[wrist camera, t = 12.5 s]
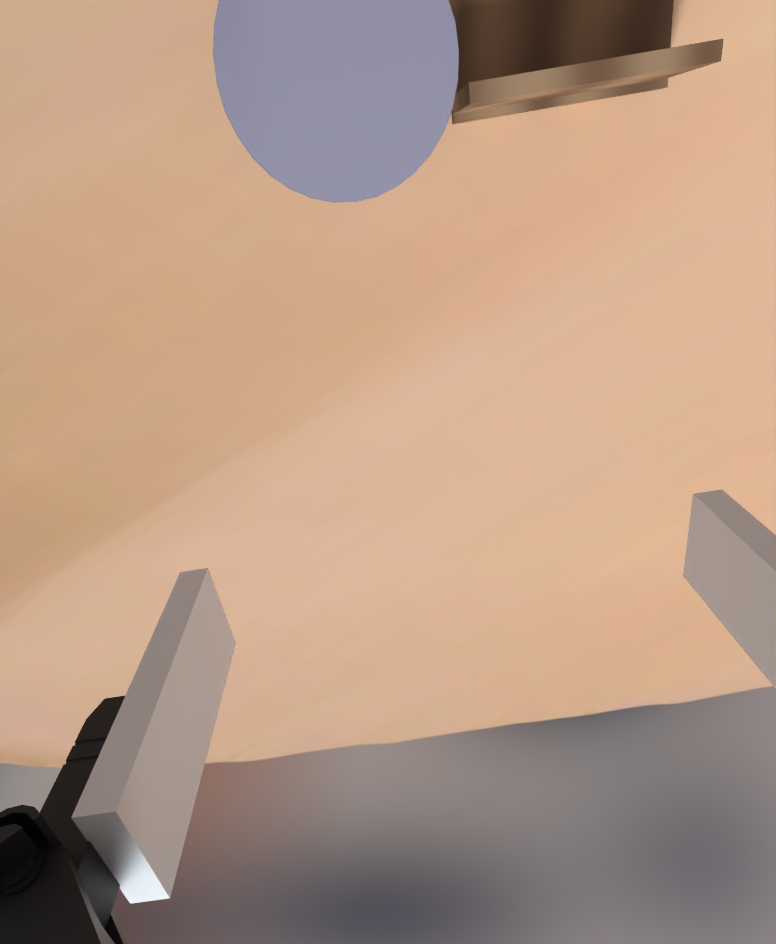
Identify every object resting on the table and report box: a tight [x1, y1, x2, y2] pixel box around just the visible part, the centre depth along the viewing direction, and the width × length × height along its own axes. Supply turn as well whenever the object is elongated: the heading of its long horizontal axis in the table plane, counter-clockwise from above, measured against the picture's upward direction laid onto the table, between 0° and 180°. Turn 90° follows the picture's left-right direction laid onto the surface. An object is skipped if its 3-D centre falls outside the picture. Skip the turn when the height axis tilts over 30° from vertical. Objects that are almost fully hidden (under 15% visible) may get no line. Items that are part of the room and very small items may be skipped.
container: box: [213, 0, 459, 202], centre depth 31 cm, size 10×10×15 cm
